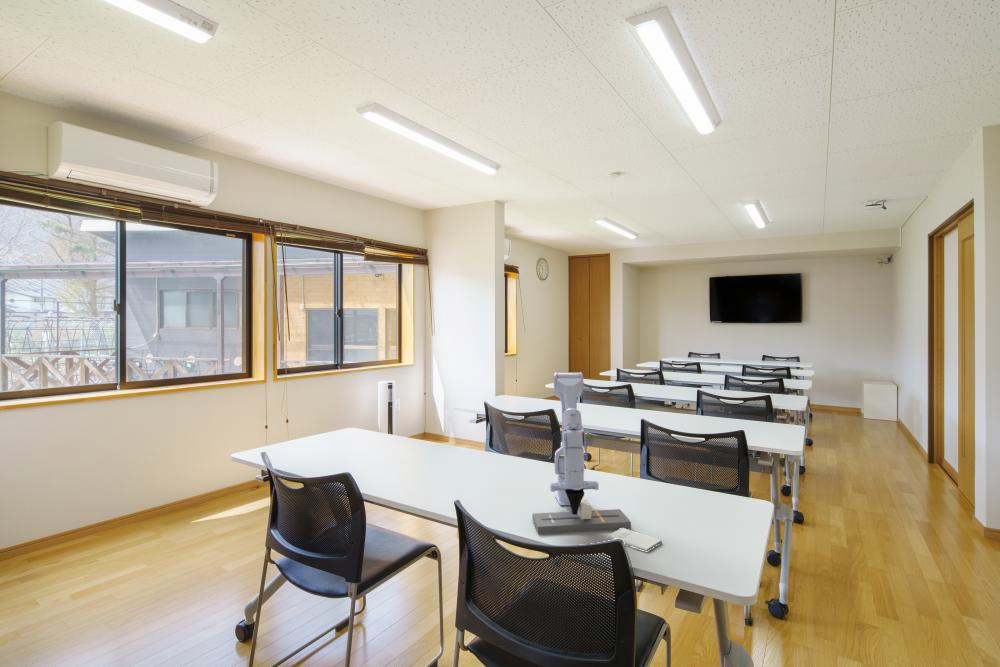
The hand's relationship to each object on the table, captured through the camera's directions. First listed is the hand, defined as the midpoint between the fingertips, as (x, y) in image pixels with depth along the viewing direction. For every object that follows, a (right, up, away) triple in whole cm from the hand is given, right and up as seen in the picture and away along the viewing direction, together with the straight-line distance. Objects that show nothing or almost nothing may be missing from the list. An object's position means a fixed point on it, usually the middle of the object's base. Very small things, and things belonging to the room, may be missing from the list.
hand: (574, 513), depth 155 cm
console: (+2, -3, 0) cm, 4 cm away
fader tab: (+3, -1, 0) cm, 3 cm away
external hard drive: (+15, -4, -12) cm, 20 cm away
